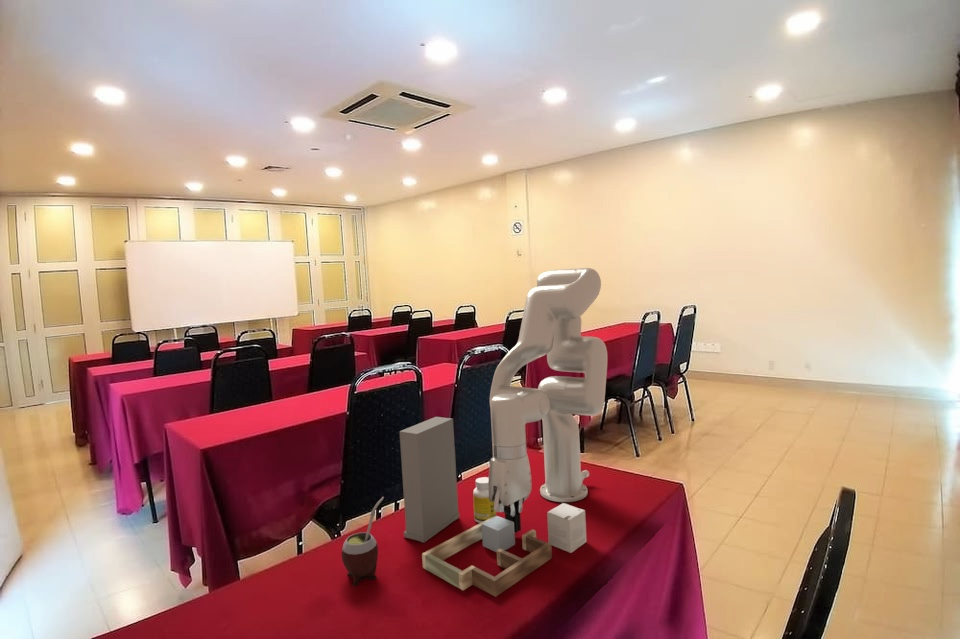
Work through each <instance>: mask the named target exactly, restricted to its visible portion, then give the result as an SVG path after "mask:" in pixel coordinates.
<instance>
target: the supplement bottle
mask: <svg viewBox="0 0 960 639" xmlns="http://www.w3.org/2000/svg"><path fill="white" fill-rule="evenodd" d="M488 481H489V476H488V477H487V476H483V477H478V478H476V479H475V488H474V489H473V492H472V495H473V519H474V521H475V523H476V522H477V523H478V524H480V523H482V522H484V521H485V520H487V519H489V518H491V517H493V516H495V515H497V511H494V502H495V501H494V502H491V501H489V492H488Z"/></svg>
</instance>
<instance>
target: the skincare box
mask: <svg viewBox="0 0 960 639" xmlns="http://www.w3.org/2000/svg"><path fill="white" fill-rule="evenodd" d="M546 513H547V514H546V517H547V535H548V536H547V537H548V540H547V541H548V542H547V543H550V544H551V547H552V546H553V547H555V548H557V549H559V550H562V551H566V552H568V553H570V554H571V553H573V552H575V551H576V550H577V549H578V548H580V547H582V546H583V545H584V544H586V543H587V522H586V521H587V520H586V510H585V509H582V508H578V507H576V506H573V505H570V504H568V503H566V502H561V504H559V505H558V506H556V507H554V508H552V509H550V510H549V511H547V512H546Z"/></svg>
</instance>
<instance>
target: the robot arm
mask: <svg viewBox="0 0 960 639" xmlns="http://www.w3.org/2000/svg"><path fill="white" fill-rule="evenodd" d="M601 286H602V280H601V276H600V274H599V272H597V271H596V270H595V269H593V268H591V267H583V268H582V267H580V268H565V269H552V270H546V271H544V272H541V273H540V274H539V275H538V277H537V280H536V286H535V287H533V288H531V289H530V290H529V291H528V293H527V294H526V299H525V302H524V303H525V304H524V309H523V314H522V320H521V324H520V329H519V336H518V339H517V342H516V344H515V345H514V346H513V347H512V348H511V349H510V350H509V351H508V352H507V353H506V354H505V356H504V357H503V358H502V359H501V361H500V362H499V364H497V367H496V368H495V371H494V374H493V377H492V378H493V379H492V382H491V386H490V391H489V392H490V393H489V407H490V423H491V426H490V427H491V442H492V444H491V445H492V457H491V458H490V462H489V468H488V478H489V481H488V492H489V501H491V502H494V501H495V502H494V511H496V513H503V514H504V519H507V520H510V521H512V522H514V532H515V534H516V533H518V532H520V531H522V525H521V522H522V521H521V513H522V511H523V506H524V505H523V504H524V502H526V500H527V499H528V498H529V497H530V494H531V492H532V474H531V472H532V471H531V466H530V460H529V455H528V452H527V436H526V424H528V423H535V422H538V421H541V420H542V434H543V435H542V436H543V438H542V439H543V440H542V441H543V457H544V458H543V460H544V477H545V479H544V480H545V483H544V484H542V485H541V486H540V488H539V493H540V495H541V496H542V497H543V498H544V499H545V500H549V501H552V502H557V503H574V502H577V501H581V500H583V499H584V498H586V497H587V496H588V488H587V486H586V485H585V484H583V481H584V480H585V479H587V478H588V477H589V476H590V471H588V470H587V469H585V470H581V467H582V465H581V447H580V446H581V443H580V442H581V441H580V428H579V424H578V423H577V420H576V419H575V417H574V415H576V416H577V415H579V416H587V417H589V416H594V417H595V416H597V415H600V413H601V412H602V411H603V409H604V405H605V399H606V398H605V397H606V385H607V376H608V375H607V372H608V350H607V346H606V344H605V342H604V341H603V340H602V339H601V338H599V337H597V336H596V337H595V336H584V335H583V336H582V335H581V334H582V315H584V314H585V313H586V312H587V310H588V309H589V308H590V307H591V305H592V304H593V303H594V302H595V301H596V299H597V298H598V296H599V295H600V291H601V290H602V287H601ZM544 356H546V361H547V365H548V366H549V368H550V369H551V370H554V371H558V372H568V373H581V374H582V373H583V374H584V377H573V376H562V375H560V376H559V375H558V376H557V375H554V376H548V377H545V378H544V379H542V380H541V381H540V382H539V384H538V387H537V388H536V387H535V388H534V387H533V388H532V387H523V386H512V381H513V379H514V377H515V375H516V374H517V372H518V371H519V370H520V369H522V368H523V367H524V366H526V365H527V364H529V363H531V362H534V361H536V360H537V359H540V358H541V357H544Z"/></svg>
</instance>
